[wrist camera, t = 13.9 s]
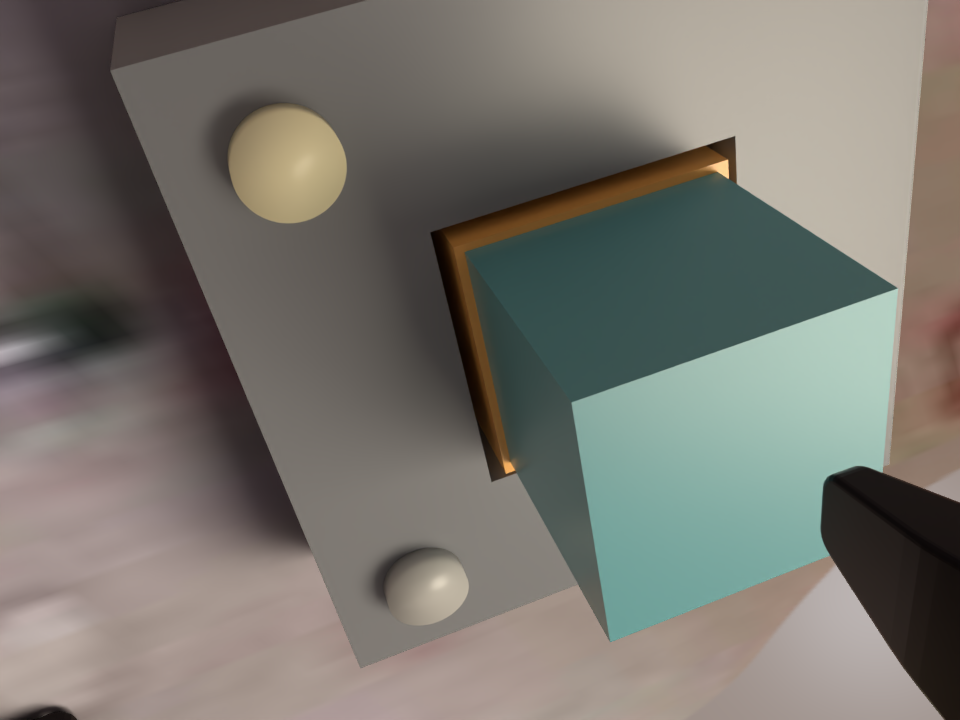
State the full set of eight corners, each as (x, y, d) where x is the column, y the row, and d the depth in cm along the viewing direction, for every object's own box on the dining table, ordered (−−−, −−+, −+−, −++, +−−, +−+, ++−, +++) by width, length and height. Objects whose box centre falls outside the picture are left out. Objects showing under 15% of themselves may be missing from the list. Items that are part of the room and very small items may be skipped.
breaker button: (682, 335, 22) (736, 389, 20) (471, 409, 21) (505, 473, 19) (665, 121, 19) (727, 159, 17) (418, 197, 18) (453, 247, 16)
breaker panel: (797, 382, 26) (902, 475, 23) (331, 552, 24) (364, 685, 21) (802, -164, 19) (963, -156, 15) (116, 17, 17) (108, 79, 13)
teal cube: (726, 385, 20) (876, 536, 16) (510, 462, 19) (610, 642, 15) (717, 171, 17) (898, 288, 13) (464, 252, 16) (571, 402, 12)
